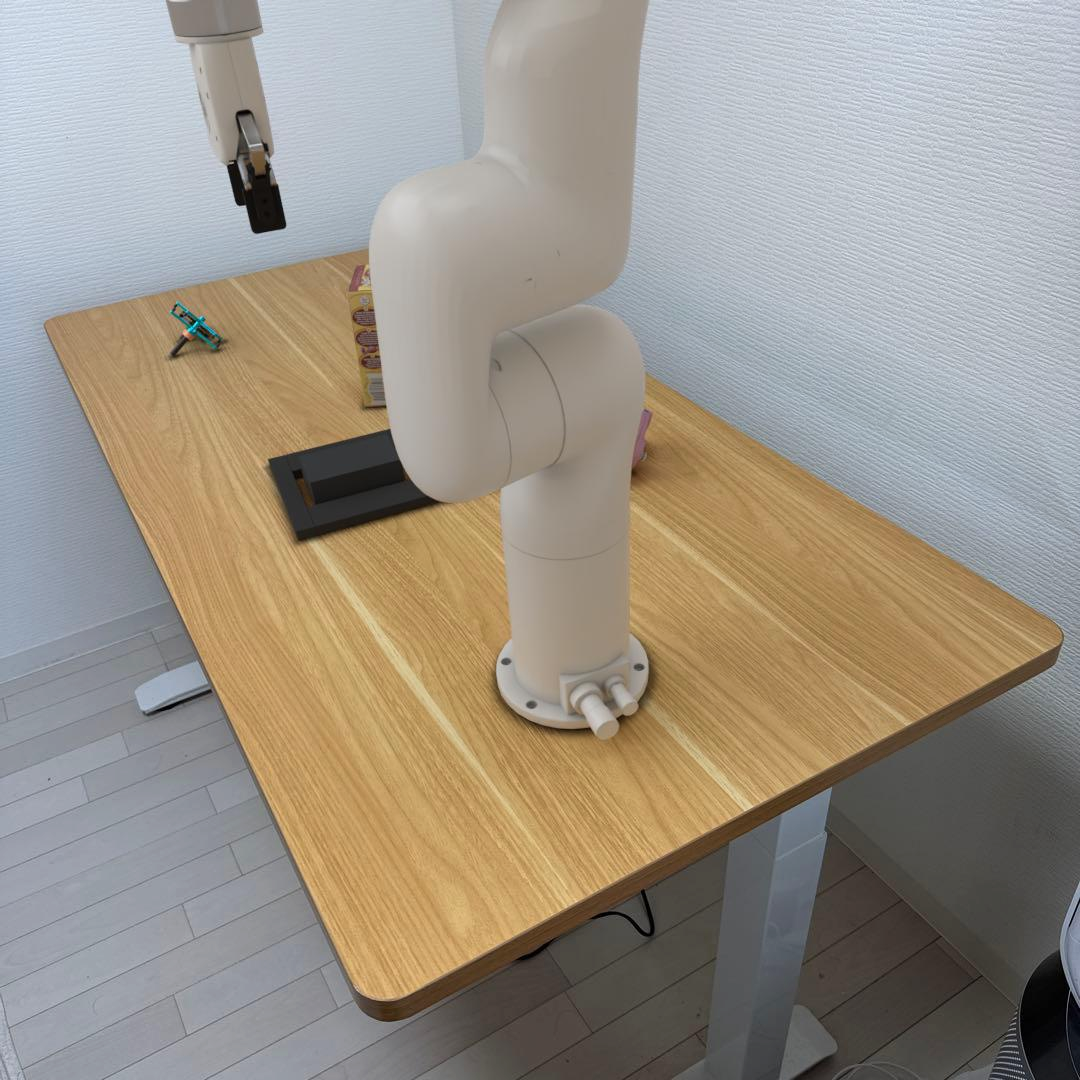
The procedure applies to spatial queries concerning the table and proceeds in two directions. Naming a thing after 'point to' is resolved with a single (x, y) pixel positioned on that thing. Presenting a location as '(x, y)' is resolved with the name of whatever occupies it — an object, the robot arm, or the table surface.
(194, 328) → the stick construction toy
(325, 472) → the loose black block
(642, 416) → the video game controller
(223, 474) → the table surface
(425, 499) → the black rectangular frame
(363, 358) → the candy box
